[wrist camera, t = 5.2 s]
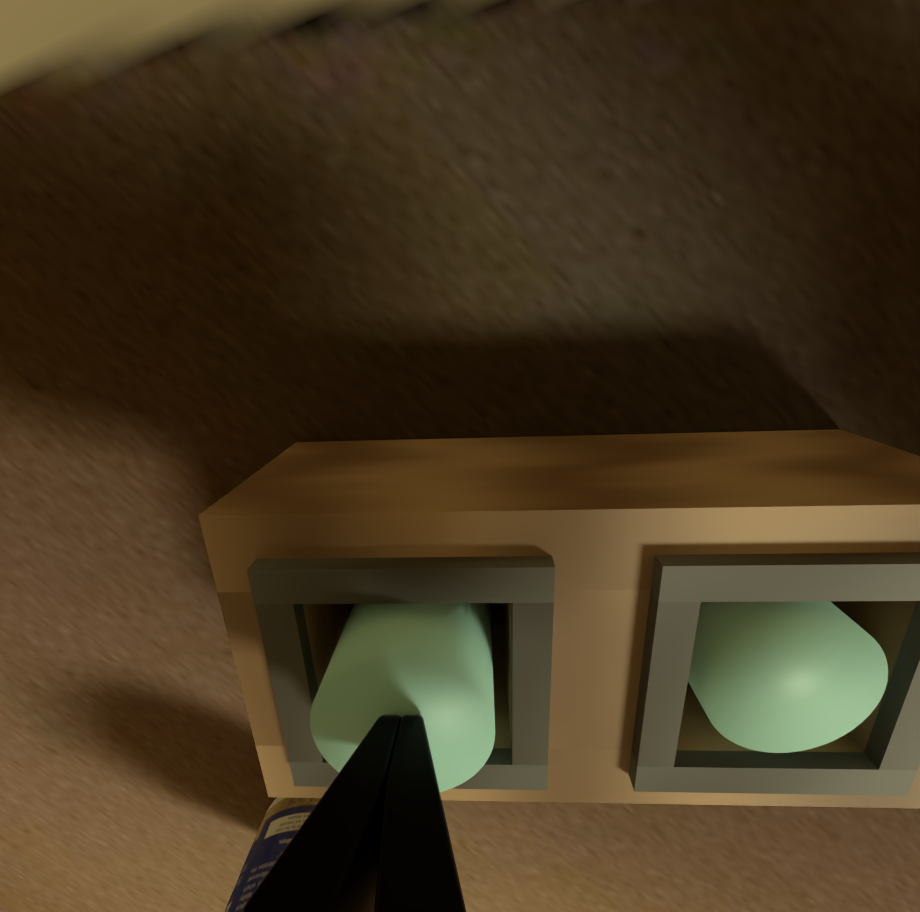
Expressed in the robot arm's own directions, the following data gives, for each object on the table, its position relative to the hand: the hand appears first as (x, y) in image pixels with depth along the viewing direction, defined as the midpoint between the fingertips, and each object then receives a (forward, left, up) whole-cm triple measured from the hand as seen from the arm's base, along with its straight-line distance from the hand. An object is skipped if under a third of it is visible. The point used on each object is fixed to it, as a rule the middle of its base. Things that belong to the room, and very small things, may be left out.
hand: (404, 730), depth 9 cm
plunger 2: (-8, 0, -6) cm, 10 cm away
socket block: (-4, 0, -6) cm, 8 cm away
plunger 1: (0, 0, -5) cm, 5 cm away
